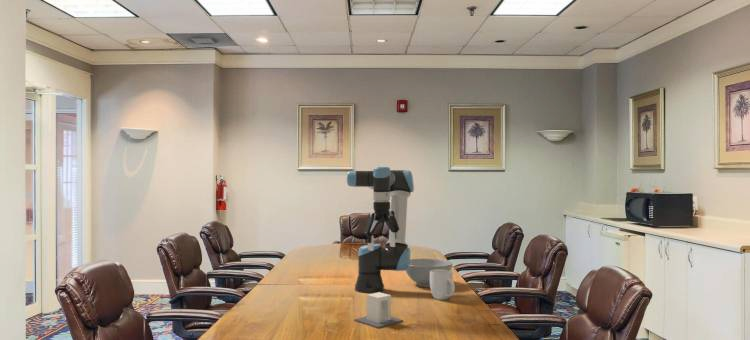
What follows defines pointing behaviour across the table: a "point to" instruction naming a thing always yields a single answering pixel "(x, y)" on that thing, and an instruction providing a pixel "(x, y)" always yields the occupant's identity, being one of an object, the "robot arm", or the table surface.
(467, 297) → the table surface
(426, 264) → the decorative bowl
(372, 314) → the white upright block
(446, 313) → the table surface
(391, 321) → the mat
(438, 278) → the mug
